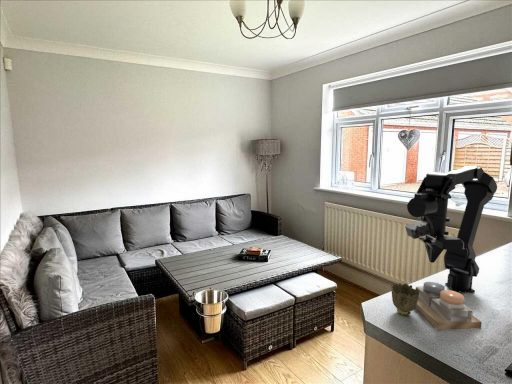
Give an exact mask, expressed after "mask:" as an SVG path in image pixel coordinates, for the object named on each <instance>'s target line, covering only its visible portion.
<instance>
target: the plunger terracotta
mask: <svg viewBox="0 0 512 384" xmlns="http://www.w3.org/2000/svg"><path fill="white" fill-rule="evenodd" d="M464 302H465V296H464V295H463V294H462V293H461V292H456V291H454V290H449V289H445V290H443V291H441V292H440V303H442V304H443V305H444V306H445V307H447V308H448V309H463V304H464ZM464 305H465V304H464Z"/></svg>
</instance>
